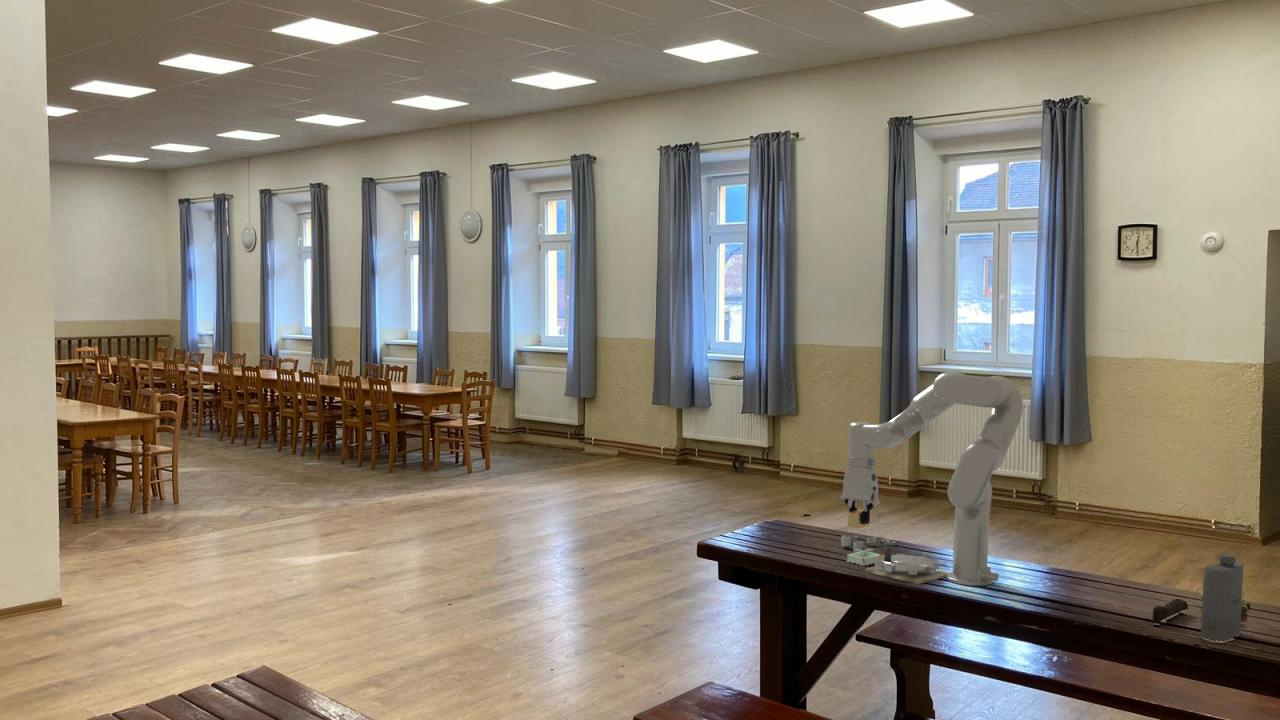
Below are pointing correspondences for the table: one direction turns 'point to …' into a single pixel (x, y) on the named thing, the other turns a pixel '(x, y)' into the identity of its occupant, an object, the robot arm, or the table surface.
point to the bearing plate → (906, 577)
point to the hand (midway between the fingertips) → (859, 522)
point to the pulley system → (858, 546)
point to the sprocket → (905, 563)
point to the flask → (1222, 599)
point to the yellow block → (856, 519)
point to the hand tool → (1168, 609)
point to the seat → (862, 558)
